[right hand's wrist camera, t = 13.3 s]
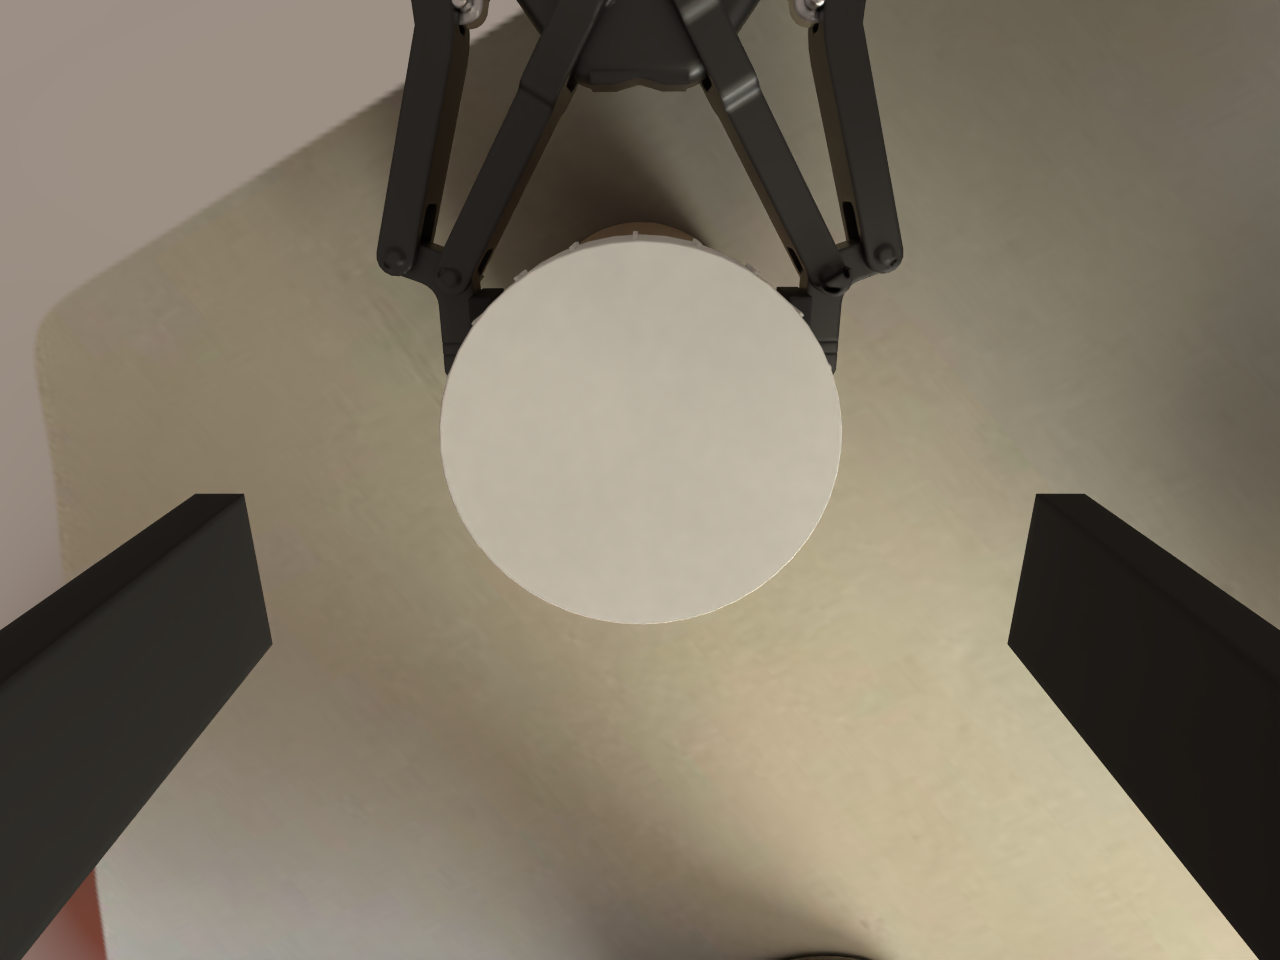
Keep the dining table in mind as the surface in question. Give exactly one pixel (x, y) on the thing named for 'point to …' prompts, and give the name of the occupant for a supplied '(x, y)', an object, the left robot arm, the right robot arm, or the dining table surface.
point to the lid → (640, 430)
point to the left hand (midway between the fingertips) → (640, 467)
